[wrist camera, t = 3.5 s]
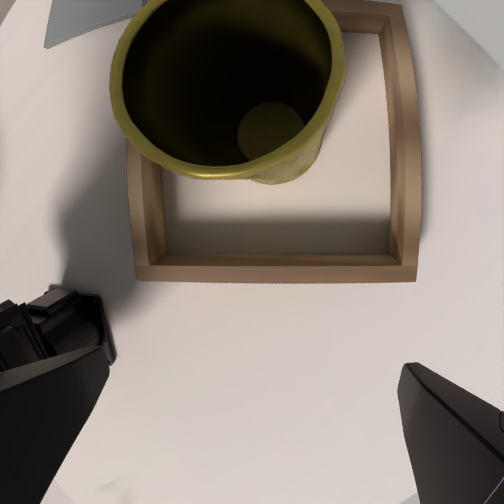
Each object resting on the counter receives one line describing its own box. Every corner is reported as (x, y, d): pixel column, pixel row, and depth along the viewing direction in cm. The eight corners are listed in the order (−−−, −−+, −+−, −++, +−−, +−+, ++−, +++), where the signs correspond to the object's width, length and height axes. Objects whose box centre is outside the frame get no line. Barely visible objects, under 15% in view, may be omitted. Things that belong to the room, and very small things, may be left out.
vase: (321, 92, 18) (356, -46, 5) (320, 186, 20) (369, 210, 6) (225, 91, 19) (109, -22, 5) (223, 183, 20) (87, 204, 7)
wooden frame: (401, 267, 20) (416, 281, 17) (155, 267, 22) (136, 280, 20) (390, 23, 16) (401, 5, 13) (148, 38, 19) (129, 23, 16)
